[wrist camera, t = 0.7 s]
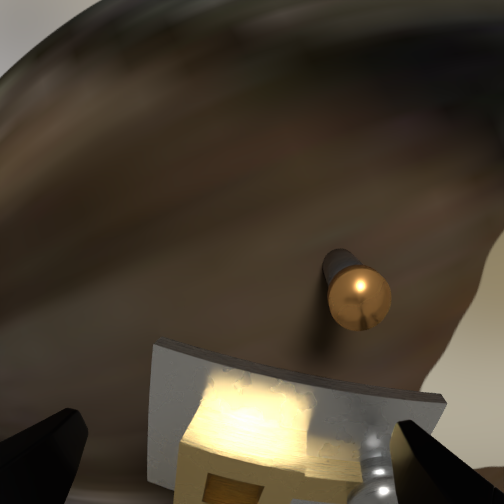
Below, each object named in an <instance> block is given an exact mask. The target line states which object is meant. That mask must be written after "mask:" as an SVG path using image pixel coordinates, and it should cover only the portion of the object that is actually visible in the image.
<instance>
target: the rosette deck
mask: <svg viewBox="0 0 504 504" xmlns="http://www.w3.org/2000/svg"><path fill="white" fill-rule="evenodd" d="M446 405H447V402H446V401H445V399H444V398H443V396H442V395H441V394H436V393H426V392H417V391H409V390H400V389H392V388H385V387H378V386H371V385H365V384H358V383H352V382H346V381H340V380H335V379H329V378H324V377H319V376H313V375H308V374H303V373H299V372H294V371H289V370H285V369H280V368H276V367H271V366H267V365H263V364H259V363H254V362H250V361H246V360H242V359H238V358H235V357H231V356H227V355H223V354H220V353H216V352H212V351H209V350H205V349H202V348H198V347H195V346H191V345H188V344H185V343H181V342H178V341H175V340H172V339H168V338H165V337H161V338H160V339H158V340H157V341H156V342H155V343H154V344H153V354H152V367H151V381H150V397H149V418H148V454H147V481H149V482H152V483H154V484H157V485H160V486H162V487H165V488H168V489H171V490H174V502H173V504H398V501H397V496H396V491H395V484H394V476H393V468H392V461H391V454H390V440H391V436H392V433H393V430H394V427H395V424H396V423H397V422H398V421H403V420H412V421H414V422H415V423H416V424H417V425H419V426H420V427H421V428H422V429H424V430H425V431H426V432H427V433H428V434H430V435H431V433H432V431H433V430H434V428H435V426H436V424H437V422H438V421H439V419H440V417H441V415H442V413H443V411H444V409H445V407H446Z"/></svg>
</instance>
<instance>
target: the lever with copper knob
mask: <svg viewBox="0 0 504 504" xmlns="http://www.w3.org/2000/svg"><path fill="white" fill-rule="evenodd" d="M323 271H324V275H325V278H326V281H327V284H328V292H327V299H328V304H329V308H330V311H331V314H332V316H333V318H334V319H335V321H336V322H337V323H338V324H339V325H341V326H342V327H344V328H346V329H349V330H353V331H363V330H367V329H370V328H372V327H374V326H376V325H377V324H379V323H380V322H381V321H382V320H383V319H384V317H385V316H386V314H387V313H388V311H389V308H390V304H391V291H390V288H389V285H388V283H387V282H386V280H385V279H384V278H383V277H382V276H381V275H380V274H379V273H378V272H377V271H376V270H374V269H373V268H371V267H369V266H366V265H363V264H362V263H361V262H360V261H359V260H358V259H357V258H356V257H355V256H354V255H353V254H352V253H351V252H349V251H348V250H345V249H334V250H332V251H330V252H329V253H328V254H327V255H326V257H325V258H324V261H323Z"/></svg>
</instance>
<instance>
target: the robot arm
mask: <svg viewBox="0 0 504 504" xmlns="http://www.w3.org/2000/svg"><path fill="white" fill-rule="evenodd" d="M87 437H88V428H87V426H86V424H85V422H84V420H83V418H82V415H81V413H80V412H79V411H78V410H75V409H71V408H65V409H63V410H61V411H60V412H58V413H56V414H54V415H52V416H50V417H48V418H46V419H44V420H43V421H41V422H39V423H37V424H35V425H33V426H31V427H29V428H27V429H25V430H23V431H21V432H19V433H17V434H15V435H13V436H11V437H9V438H7V439H5V440H3V441H1V442H0V504H64V503H65V501H66V498H67V496H68V493H69V491H70V488H71V486H72V483H73V481H74V478H75V476H76V473H77V470H78V467H79V464H80V460H81V457H82V453H83V450H84V447H85V444H86V440H87ZM390 454H391V461H392V468H393V476H394V484H395V491H396V496H397V501H398V504H504V493H503V492H502V491H500V490H499V489H498V488H497V487H495V488H494V485H492V484H491V483H490V482H489V481H487V480H486V479H485V478H484V477H482V476H481V475H480V474H478V473H477V472H476V471H475V470H473V469H472V468H471V467H470V466H468V465H467V464H466V463H465V462H463V461H462V460H461V459H459V458H458V457H457V456H456V455H454V454H453V453H452V452H451V451H449V450H448V449H447V448H446V447H445V446H443V445H442V444H441V443H440V442H438V441H437V440H436V439H434V438H433V437H432V436H431V435H430V434H428V433H427V432H426V431H425V430H424V429H422V428H421V427H420V426H419V425H417V424H416V423H415V422H414V421H412V420H403V421H398V422H397V423H396V424H395V427H394V430H393V433H392V436H391V440H390Z"/></svg>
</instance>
